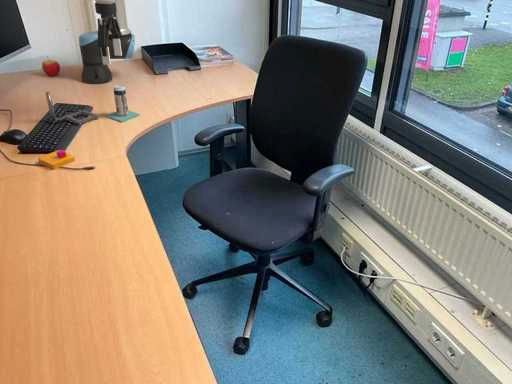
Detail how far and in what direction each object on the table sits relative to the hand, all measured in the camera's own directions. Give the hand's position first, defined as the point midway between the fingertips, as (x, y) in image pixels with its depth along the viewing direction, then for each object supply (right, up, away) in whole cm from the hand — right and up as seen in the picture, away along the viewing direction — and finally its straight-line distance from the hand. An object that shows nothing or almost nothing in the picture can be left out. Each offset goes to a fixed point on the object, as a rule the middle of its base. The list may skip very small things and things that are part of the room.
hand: (112, 59), depth 167 cm
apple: (-50, +9, +54) cm, 74 cm away
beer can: (+1, -20, +10) cm, 23 cm away
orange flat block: (-10, -43, -26) cm, 51 cm away
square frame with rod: (-18, -23, +4) cm, 30 cm away
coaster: (+1, -21, +10) cm, 23 cm away
